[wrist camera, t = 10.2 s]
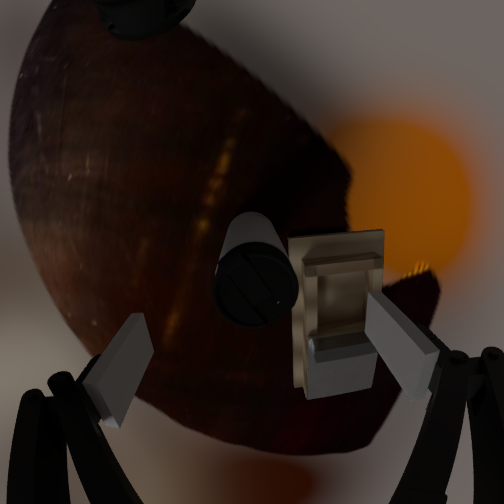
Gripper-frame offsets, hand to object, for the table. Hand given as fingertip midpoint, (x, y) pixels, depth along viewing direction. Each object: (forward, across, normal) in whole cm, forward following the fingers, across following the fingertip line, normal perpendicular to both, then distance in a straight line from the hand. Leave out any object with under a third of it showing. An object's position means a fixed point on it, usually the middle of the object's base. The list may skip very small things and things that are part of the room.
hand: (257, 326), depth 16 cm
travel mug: (+24, 0, 0) cm, 24 cm away
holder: (+24, +12, -14) cm, 30 cm away
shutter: (+20, +12, -20) cm, 30 cm away
